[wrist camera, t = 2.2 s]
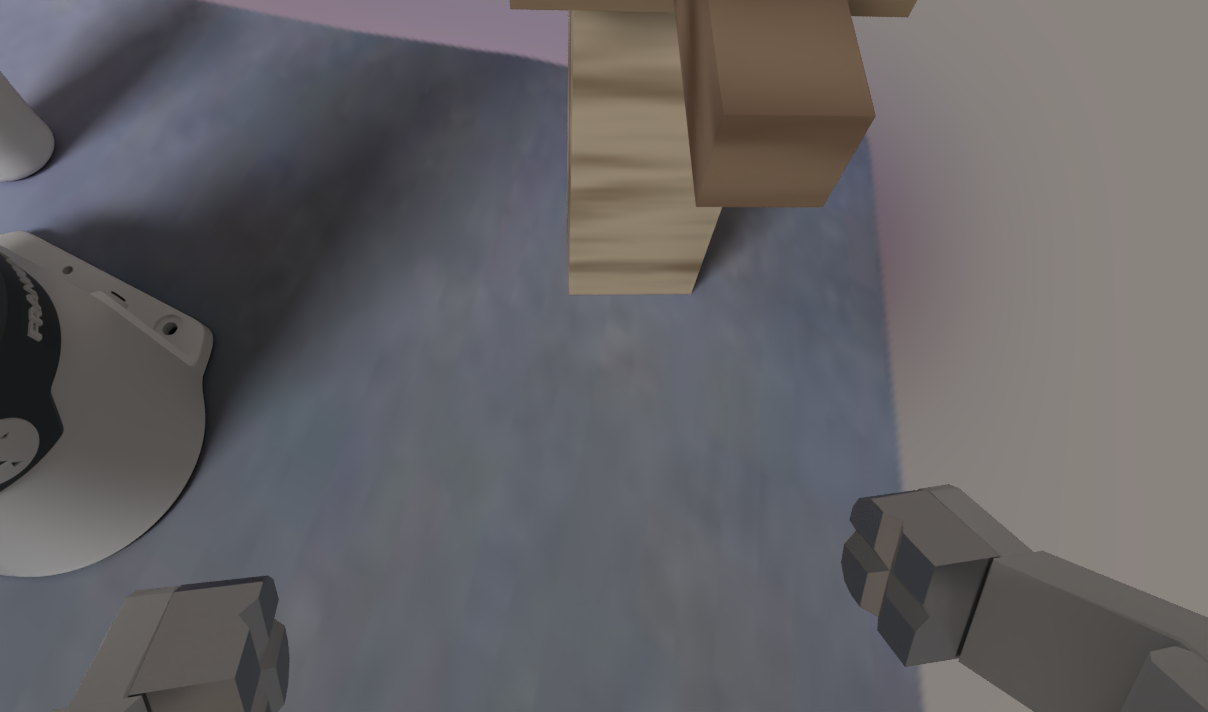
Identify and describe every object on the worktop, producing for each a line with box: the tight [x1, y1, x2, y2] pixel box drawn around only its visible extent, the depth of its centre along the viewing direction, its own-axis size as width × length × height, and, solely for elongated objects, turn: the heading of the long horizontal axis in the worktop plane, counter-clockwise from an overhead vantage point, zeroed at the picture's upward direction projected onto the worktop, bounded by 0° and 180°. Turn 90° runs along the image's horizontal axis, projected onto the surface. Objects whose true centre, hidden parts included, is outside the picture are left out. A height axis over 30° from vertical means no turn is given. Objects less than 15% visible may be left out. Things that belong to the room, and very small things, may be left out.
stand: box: [510, 0, 917, 295], centre depth 35 cm, size 16×12×26 cm
